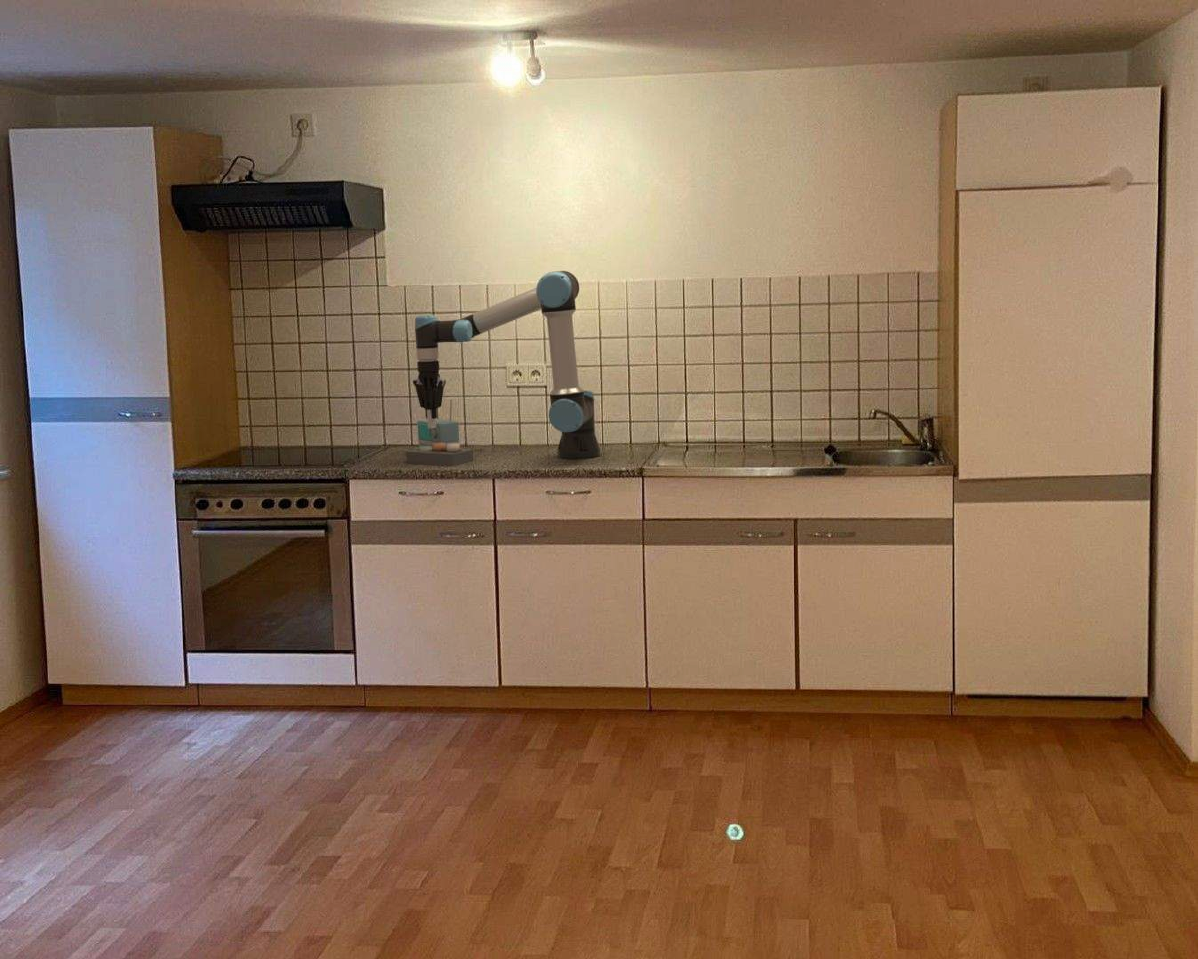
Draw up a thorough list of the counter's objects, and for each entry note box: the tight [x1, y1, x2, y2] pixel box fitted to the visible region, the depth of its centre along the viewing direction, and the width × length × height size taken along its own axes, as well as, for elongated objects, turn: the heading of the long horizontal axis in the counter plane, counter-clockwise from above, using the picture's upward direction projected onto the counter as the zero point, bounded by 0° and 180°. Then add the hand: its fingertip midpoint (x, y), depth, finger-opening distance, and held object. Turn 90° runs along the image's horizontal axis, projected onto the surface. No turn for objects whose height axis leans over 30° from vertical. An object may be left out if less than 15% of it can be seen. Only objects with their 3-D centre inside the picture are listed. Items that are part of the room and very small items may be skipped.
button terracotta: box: [433, 443, 446, 451], centre depth 510 cm, size 4×4×2 cm
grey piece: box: [405, 447, 475, 467], centre depth 511 cm, size 20×12×4 cm, turn 59°
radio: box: [416, 399, 460, 448], centre depth 530 cm, size 16×9×20 cm, turn 37°
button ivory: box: [447, 442, 461, 452], centre depth 507 cm, size 4×4×2 cm
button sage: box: [418, 446, 432, 451], centre depth 514 cm, size 4×4×2 cm
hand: (432, 427), depth 511 cm, fingers closed
